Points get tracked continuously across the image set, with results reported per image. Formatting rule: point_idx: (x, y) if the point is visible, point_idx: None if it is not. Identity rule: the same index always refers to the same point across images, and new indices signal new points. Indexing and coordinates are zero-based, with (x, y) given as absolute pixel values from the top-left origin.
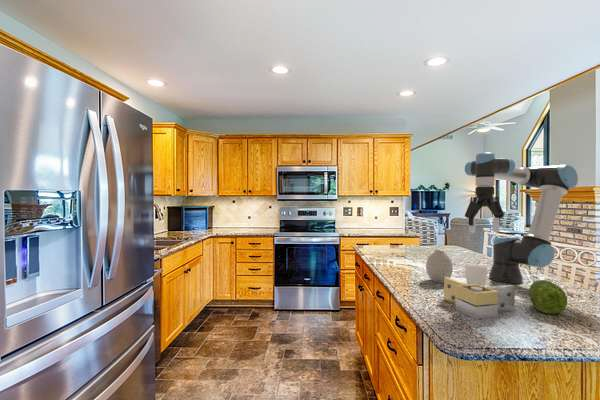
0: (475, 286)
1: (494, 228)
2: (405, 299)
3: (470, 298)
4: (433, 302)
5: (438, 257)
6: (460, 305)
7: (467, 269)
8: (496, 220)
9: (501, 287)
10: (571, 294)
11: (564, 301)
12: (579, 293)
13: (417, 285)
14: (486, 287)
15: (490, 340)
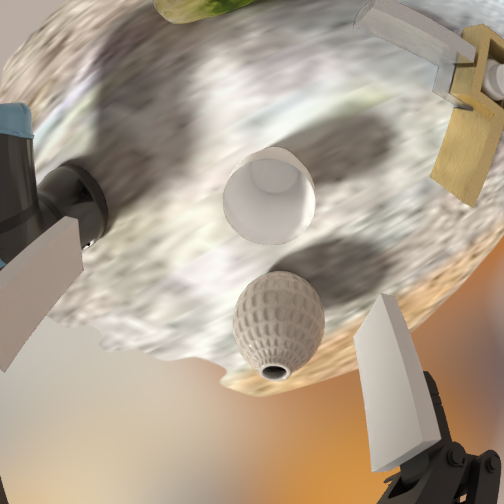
0: (500, 87)
1: (65, 272)
2: (496, 235)
3: None
4: None
5: (308, 342)
6: None
7: (310, 215)
8: (3, 314)
9: (435, 22)
10: (51, 51)
11: None
12: (32, 56)
13: (376, 292)
14: (478, 59)
15: None
